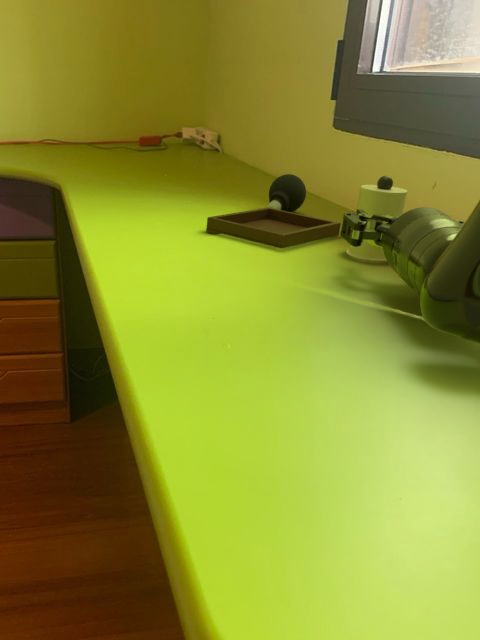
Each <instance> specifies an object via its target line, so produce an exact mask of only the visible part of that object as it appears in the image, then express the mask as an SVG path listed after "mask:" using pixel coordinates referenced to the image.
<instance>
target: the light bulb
mask: <svg viewBox="0 0 480 640" xmlns="http://www.w3.org/2000/svg"><path fill="white" fill-rule="evenodd" d="M306 196H307V189H306V185H305V183H304V181H303V180H302V179H301V178H300V177H299V176H297V175H295V174H291V173H287V174H282V175H279V176H277V177H276V178H275V179H274V180H273V182H272V183H271V185H270V186H269V189H268V204H267V205H266V206H265V208H268V207H269V208H273V209H278V210H283V211H287V212H292V213H295V211H297V210H298V209H300V208H301V207H302V205H303V204H304V202H305V201H306Z"/></svg>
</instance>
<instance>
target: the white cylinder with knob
mask: <svg viewBox="0 0 480 640" xmlns="http://www.w3.org/2000/svg"><path fill="white" fill-rule="evenodd" d="M376 182H377V183H376V184H363V185H361V186H360V189H359V194H358V198H357V205H356V210H355V212H356V211H357V209H360V210H364V211H365V212H366V213H367V214H368V215H371V216H373V215H374V214H385V215H389V216H393V217H399V216H401V215H402V214H404V209H405V205H406V201H407V196H408V190H407V189H405V188H402V187H397V186H394V180H393V178H392V177H391V176H389V175H383V176H381V177H379V179H378V180H377V181H376ZM385 223H389V222H385V221H383V224H385ZM370 225H371V224H370V222H369V221H368V222H367V227H366V228H368V229H370ZM345 254H347V255H348V256H350V257H352V258H355V259H358V260H364V261H370V262H387V260H386V258H385V254H384V251H383V248H381V247H377V246H374V245H371V244H368V242H367V240H364V239H363V243H362V244H361V246H358V247H354V246H352V245H350V244H349V248H348V249H347V250H346V251H345Z"/></svg>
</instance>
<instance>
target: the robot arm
mask: <svg viewBox="0 0 480 640" xmlns="http://www.w3.org/2000/svg"><path fill="white" fill-rule="evenodd" d="M356 209H357V208H356ZM342 218H343V219H342V223H341V228H340V231H339V236H340V237H341V238H343V239H344V240H345V241H346V242H347V244H349V246H350V245H352V246H354V247H358V246H361V244H362V243H363V239H364V240H367V242H368V244H371V245H374V246H377V247H381V248H383V251H384V254H385V258H386V260H387V261H386V262H387V264H388V265H389V267H390V268H391V269H392V270H393V271H394V273H396V274H397V276H399V278H400V279H401V281H403V282H404V283H405V284H406V285H407V286H408V287H409V288H411V289H412V290H414V291H415V292H417V293H418V294H419V307H420V312H421V316H422V319H423V320H424V322H425V323H426V324H427V325H428V327H430V328H431V329H434V330H436V331H438V332H440V333H443V334H447V335H450V336H453V337H456V338H460V339H463V340H466V341H470V342H473V343H476V344H479V345H480V199H478V202H477V203H476V204H475V206H474V208H473V209H472V211H471V213H470V214H469V215H468V217H467V218H466V220H465V221H464V220H459V221H457V220H456V219H455V218H453V217H451V216H450V215H448V214H446V213H445V212H443V211H441V210H439V209H437V208H434V207H427V206H422V207H415V208H412V209H409V210H407V211H405V212H403V214H402V215H401V216H399V217H393V216H389V215H385V214H374V215H373V216H371V215H368V214H367V213H366V212H365V211H364V210H360V209H357V211H356V210H355V212H347V213H343V216H342ZM368 221H369V222H370V224H371V225H370V229H368V228H366V227H367V222H368ZM383 221H385V222H389V223H385V224H383Z"/></svg>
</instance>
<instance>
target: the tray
mask: <svg viewBox="0 0 480 640" xmlns="http://www.w3.org/2000/svg"><path fill="white" fill-rule="evenodd" d="M341 226H342V222H339V221H334V220H330V219H326V218H325V219H324V218H320V217H315V216H311V215H306V214H301V213H298V212H287V211H283V210H278V209H273V208H269V207H268V208H266V207H262V208H261V207H260V208H256V209H248V210H243V211H237V212H231V213H225V214H219V215H214V216H207V219H206V229H205V232H206V233H208V234H212V235H221V234H223V235H225V236H226V235H227V236H230V237H234V238H238V239H243V240H247V241H250V242H254V243H258V244H262V245H266V246H269V247H274V248H278V249H285V248H289V247H294V246H297V245H301V244H306V243H310V242H315V241H320V240H323V239H327V238H332V237H336V236H340V232H341Z"/></svg>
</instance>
